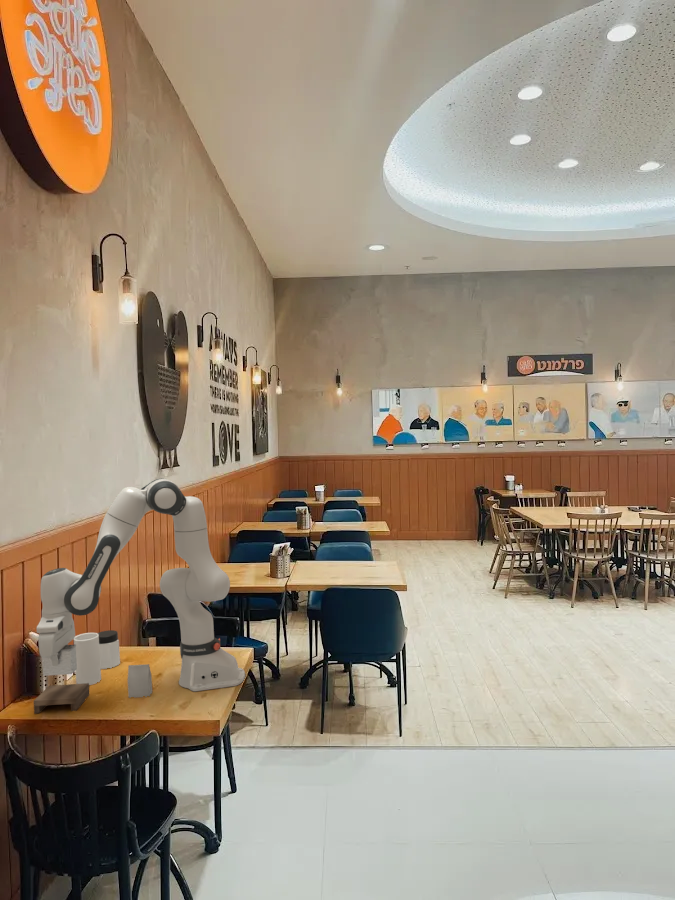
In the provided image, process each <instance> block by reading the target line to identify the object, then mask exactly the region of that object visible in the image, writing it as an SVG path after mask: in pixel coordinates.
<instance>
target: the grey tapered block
mask: <svg viewBox="0 0 675 900" xmlns="http://www.w3.org/2000/svg"><path fill="white" fill-rule="evenodd" d="M152 678H153V677H152V672H151V667H150V664H132V665H131V664H130V665H128V670H127V693H128V698H129V699H131V697H134V698H148V697H147V696H149V697H151V695H152V694H153V681H152V680H153V679H152ZM150 694H151V695H150ZM143 696H145V697H143Z"/></svg>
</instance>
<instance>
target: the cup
mask: <svg viewBox="0 0 675 900" xmlns="http://www.w3.org/2000/svg"><path fill="white" fill-rule="evenodd" d="M98 633H99V632H85V633H80V634H77V635H75V638H74V639H73V645H75V644H76V662H77V669H76V670H75V681H76V683H75V684H84V683H89V686H91V685H95V684H97V682H98V683H100V682H101V681H100V680H102V669H101V666H100V650H99V635H98Z"/></svg>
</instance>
